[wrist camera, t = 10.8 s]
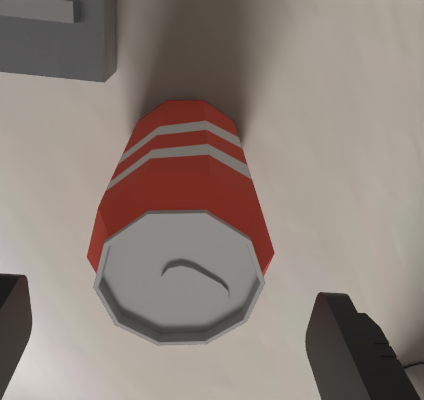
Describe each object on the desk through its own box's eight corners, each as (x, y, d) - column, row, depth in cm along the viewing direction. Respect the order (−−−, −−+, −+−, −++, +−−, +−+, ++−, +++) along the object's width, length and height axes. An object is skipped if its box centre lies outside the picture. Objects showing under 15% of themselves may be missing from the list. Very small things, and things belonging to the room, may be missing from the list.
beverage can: (201, 217, 25) (206, 382, 14) (110, 161, 23) (38, 303, 12) (263, 140, 23) (324, 266, 12) (169, 72, 21) (142, 151, 10)
